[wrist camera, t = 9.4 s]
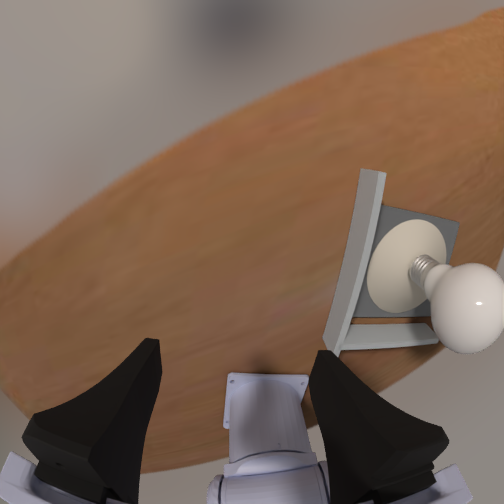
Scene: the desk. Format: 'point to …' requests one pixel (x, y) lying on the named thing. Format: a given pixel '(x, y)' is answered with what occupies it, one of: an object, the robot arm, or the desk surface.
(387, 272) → the mat
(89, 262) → the desk surface
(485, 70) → the desk surface
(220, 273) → the desk surface
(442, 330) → the lightbulb
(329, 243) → the desk surface
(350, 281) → the acrylic fence
